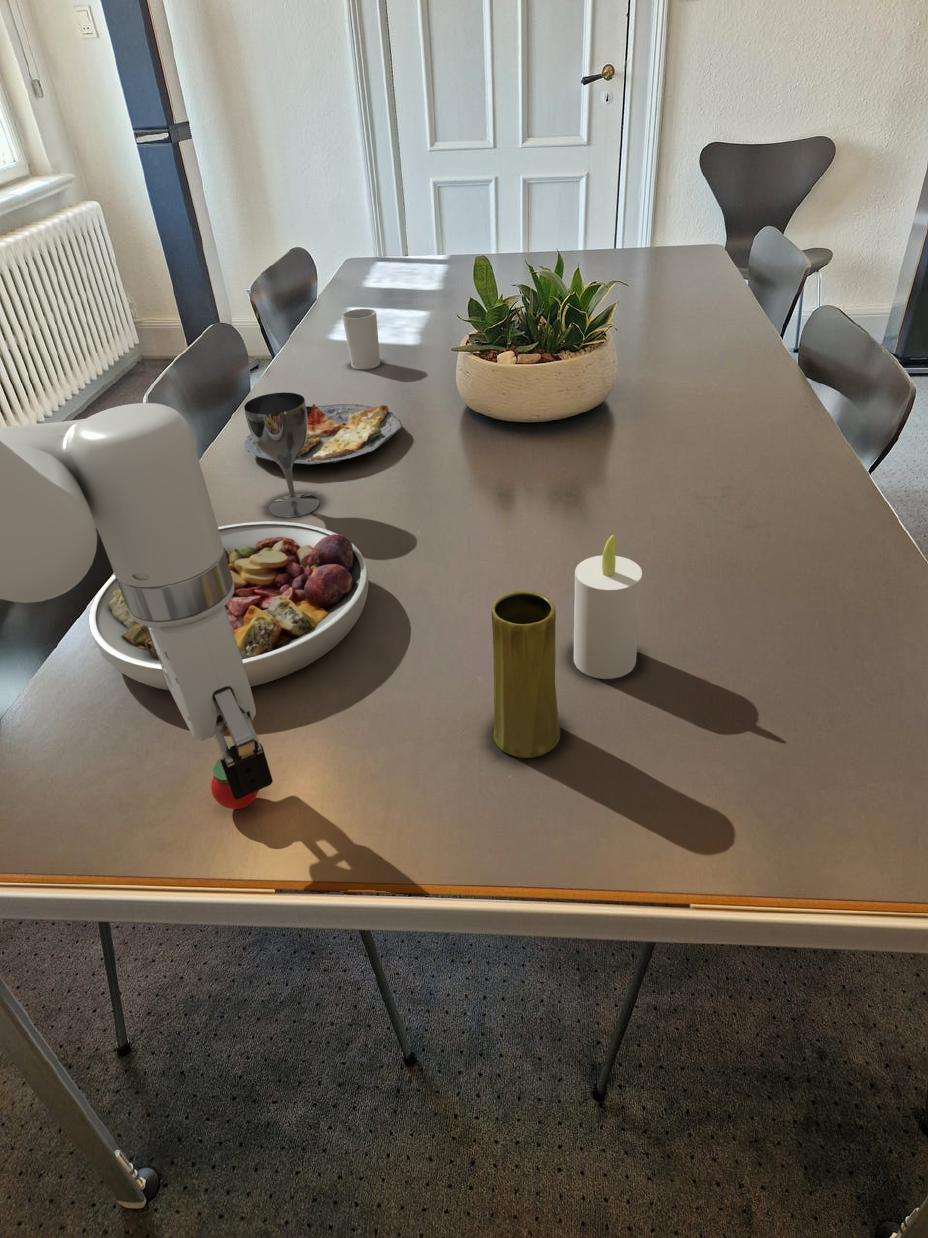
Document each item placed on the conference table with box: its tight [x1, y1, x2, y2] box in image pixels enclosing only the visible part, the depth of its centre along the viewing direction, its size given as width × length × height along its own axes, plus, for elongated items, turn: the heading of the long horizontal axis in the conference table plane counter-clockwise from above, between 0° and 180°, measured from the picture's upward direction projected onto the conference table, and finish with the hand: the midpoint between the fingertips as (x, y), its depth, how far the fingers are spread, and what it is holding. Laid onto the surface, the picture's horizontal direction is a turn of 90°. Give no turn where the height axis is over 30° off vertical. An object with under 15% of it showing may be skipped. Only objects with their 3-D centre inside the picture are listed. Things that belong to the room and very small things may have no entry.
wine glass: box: [243, 392, 321, 518], centre depth 116 cm, size 8×8×15 cm
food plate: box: [243, 403, 403, 465], centre depth 137 cm, size 25×23×4 cm
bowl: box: [88, 521, 369, 691], centre depth 94 cm, size 30×30×8 cm
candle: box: [573, 534, 643, 680], centre depth 83 cm, size 6×6×15 cm
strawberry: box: [210, 757, 260, 810], centre depth 72 cm, size 4×4×4 cm
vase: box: [491, 590, 561, 759], centre depth 74 cm, size 6×6×14 cm
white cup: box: [341, 308, 381, 370], centre depth 167 cm, size 7×7×10 cm
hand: (233, 754), depth 70 cm, fingers open, 9 cm apart
